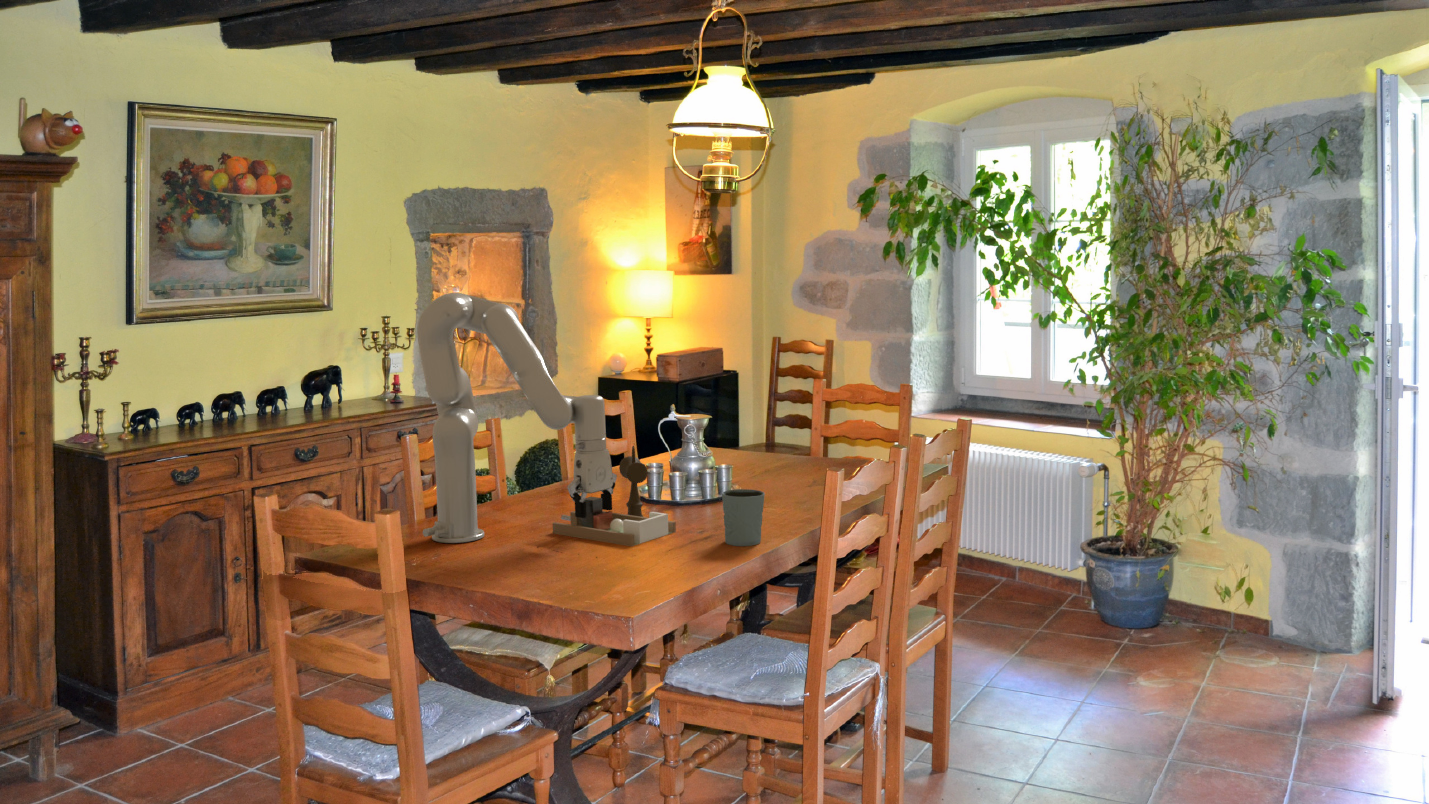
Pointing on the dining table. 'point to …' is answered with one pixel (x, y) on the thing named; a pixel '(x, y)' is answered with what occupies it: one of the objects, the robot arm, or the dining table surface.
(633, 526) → the open rectangular tray
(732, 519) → the grey cup
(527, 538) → the dining table surface
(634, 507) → the kendama
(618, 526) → the ball
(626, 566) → the dining table surface
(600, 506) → the block
